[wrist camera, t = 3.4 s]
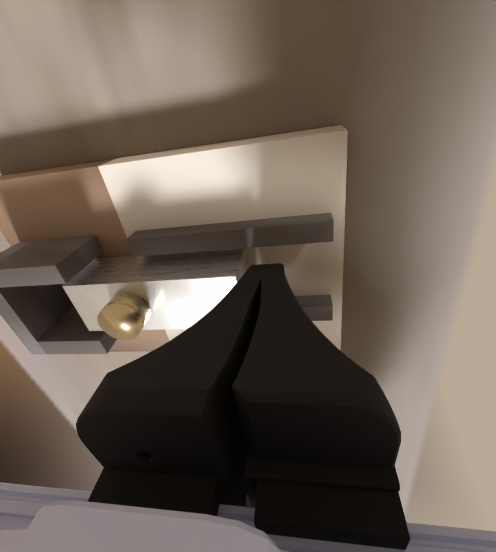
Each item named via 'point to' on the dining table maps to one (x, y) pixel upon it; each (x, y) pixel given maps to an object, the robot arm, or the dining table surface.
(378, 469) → the robot arm
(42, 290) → the door and jamb
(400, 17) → the dining table surface
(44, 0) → the dining table surface
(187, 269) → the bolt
